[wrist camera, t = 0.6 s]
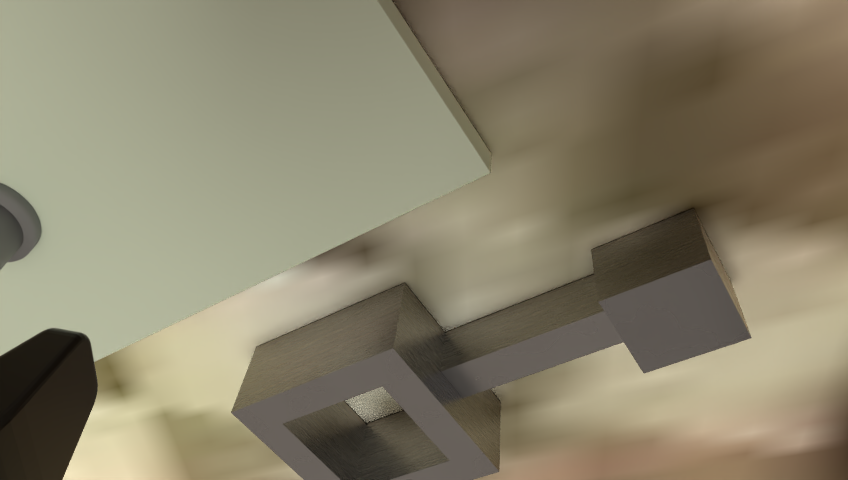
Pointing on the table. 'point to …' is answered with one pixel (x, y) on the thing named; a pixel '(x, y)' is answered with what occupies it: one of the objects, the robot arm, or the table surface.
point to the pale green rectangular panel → (203, 151)
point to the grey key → (477, 359)
